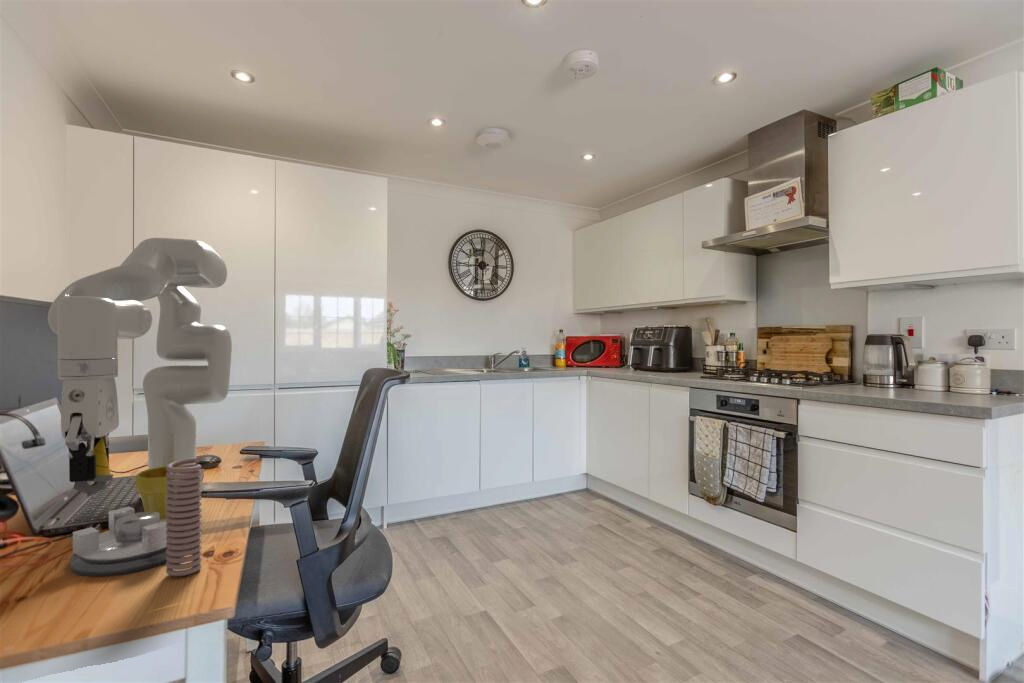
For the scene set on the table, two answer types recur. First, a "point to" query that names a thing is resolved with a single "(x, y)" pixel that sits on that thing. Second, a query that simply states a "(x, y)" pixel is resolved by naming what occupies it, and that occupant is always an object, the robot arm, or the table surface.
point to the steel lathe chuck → (122, 537)
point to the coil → (183, 517)
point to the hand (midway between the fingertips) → (90, 474)
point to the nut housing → (117, 565)
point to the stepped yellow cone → (97, 472)
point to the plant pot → (153, 489)
